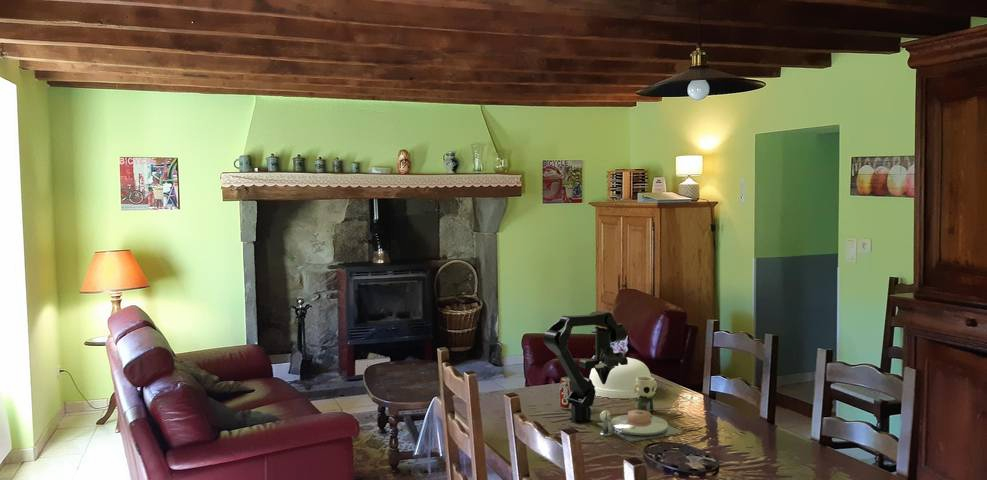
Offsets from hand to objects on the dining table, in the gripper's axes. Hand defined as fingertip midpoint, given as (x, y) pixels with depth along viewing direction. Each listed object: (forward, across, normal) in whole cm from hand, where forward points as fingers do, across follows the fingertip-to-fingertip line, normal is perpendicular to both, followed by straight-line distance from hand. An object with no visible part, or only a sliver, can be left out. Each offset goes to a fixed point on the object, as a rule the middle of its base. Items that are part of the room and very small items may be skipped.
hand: (603, 384), depth 281 cm
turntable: (+11, +3, -20) cm, 23 cm away
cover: (+10, +2, -21) cm, 23 cm away
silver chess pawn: (+12, -12, -21) cm, 27 cm away
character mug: (+12, +17, -3) cm, 21 cm away
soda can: (+12, -8, +14) cm, 20 cm away
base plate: (+12, +2, -21) cm, 24 cm away
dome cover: (+12, +26, +29) cm, 41 cm away
